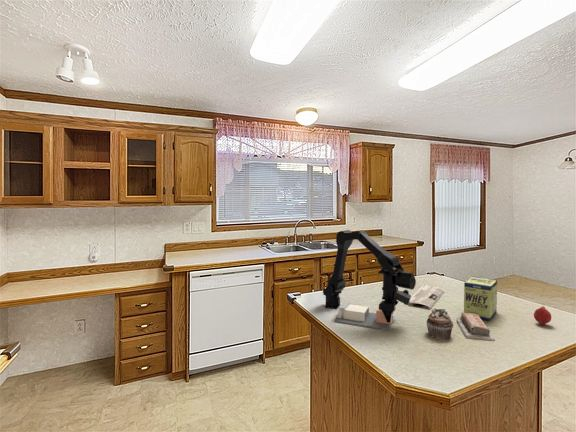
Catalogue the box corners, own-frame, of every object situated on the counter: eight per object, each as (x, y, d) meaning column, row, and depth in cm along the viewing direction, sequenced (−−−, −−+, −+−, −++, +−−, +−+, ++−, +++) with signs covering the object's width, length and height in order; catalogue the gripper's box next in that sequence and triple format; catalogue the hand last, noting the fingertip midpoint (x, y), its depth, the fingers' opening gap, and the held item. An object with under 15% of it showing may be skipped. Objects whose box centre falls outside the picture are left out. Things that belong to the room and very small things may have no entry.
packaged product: (456, 310, 140) (481, 313, 137) (455, 321, 140) (481, 324, 137) (466, 326, 122) (495, 329, 119) (465, 339, 123) (495, 342, 120)
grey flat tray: (334, 321, 140) (334, 309, 140) (344, 310, 155) (344, 298, 154) (388, 330, 130) (388, 317, 130) (393, 317, 145) (393, 305, 144)
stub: (376, 322, 138) (376, 310, 137) (378, 318, 142) (378, 307, 142) (390, 324, 135) (390, 312, 135) (392, 320, 140) (392, 309, 139)
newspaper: (430, 310, 154) (430, 303, 153) (403, 305, 161) (404, 298, 161) (444, 292, 182) (444, 286, 182) (421, 289, 189) (421, 283, 189)
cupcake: (422, 329, 131) (422, 306, 130) (446, 329, 130) (446, 306, 130) (432, 340, 121) (432, 314, 120) (457, 340, 121) (458, 314, 120)
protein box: (463, 316, 145) (463, 282, 144) (472, 307, 156) (472, 276, 155) (490, 321, 138) (490, 286, 137) (497, 312, 149) (497, 279, 148)
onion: (546, 328, 130) (547, 309, 129) (530, 323, 135) (531, 305, 134) (553, 325, 133) (554, 307, 132) (537, 321, 138) (538, 303, 137)
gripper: (407, 293, 125) (407, 331, 126) (411, 281, 142) (411, 315, 143) (378, 289, 130) (378, 327, 131) (385, 278, 146) (385, 312, 147)
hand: (389, 320), depth 138 cm, fingers closed on stub, 5 cm apart
